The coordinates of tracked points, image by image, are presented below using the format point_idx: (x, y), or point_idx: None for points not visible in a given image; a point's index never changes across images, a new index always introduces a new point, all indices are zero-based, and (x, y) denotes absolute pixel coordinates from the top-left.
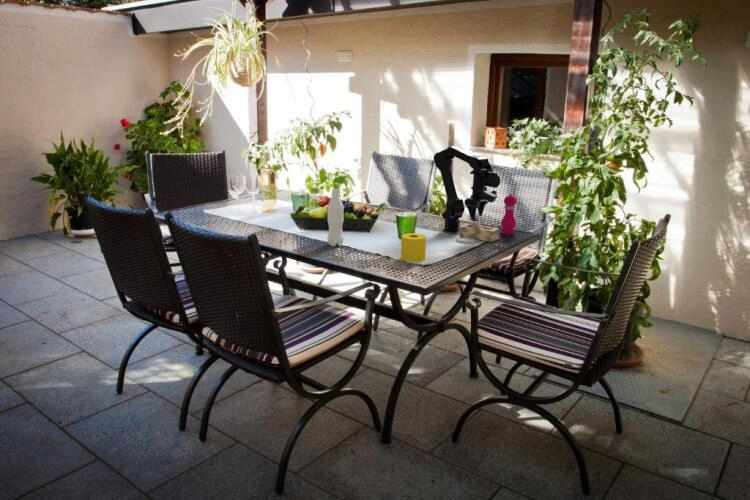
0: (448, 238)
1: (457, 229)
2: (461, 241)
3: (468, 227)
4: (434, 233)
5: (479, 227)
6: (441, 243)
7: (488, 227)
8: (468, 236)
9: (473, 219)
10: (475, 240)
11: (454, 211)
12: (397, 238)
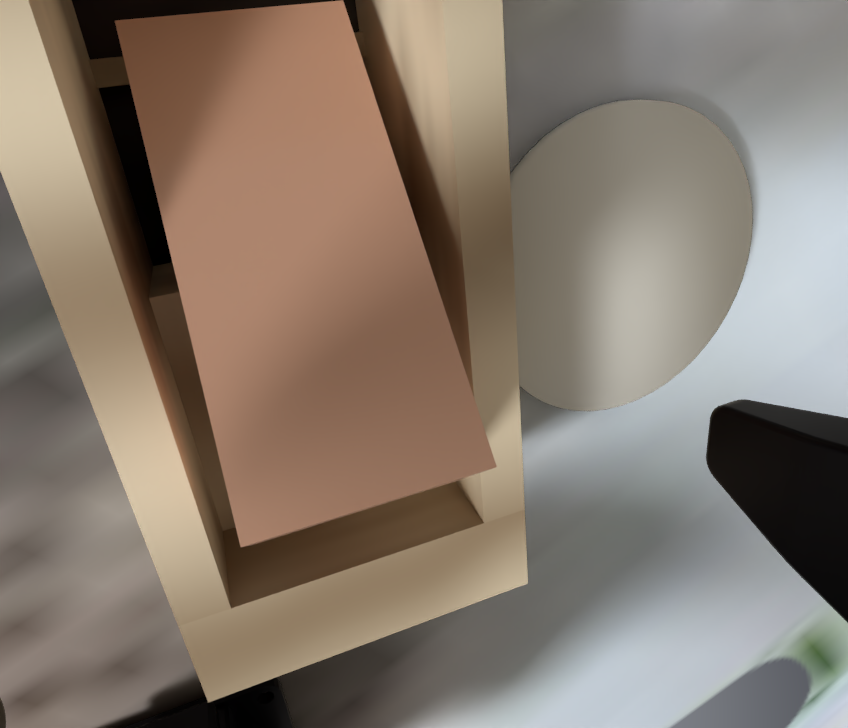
0: (614, 492)
1: (210, 712)
2: (746, 251)
3: (515, 442)
4: (499, 721)
5: (382, 258)
6: (839, 392)
7: (60, 97)
8: None
9: (730, 414)
10: (595, 115)
11: None
12: (817, 705)
